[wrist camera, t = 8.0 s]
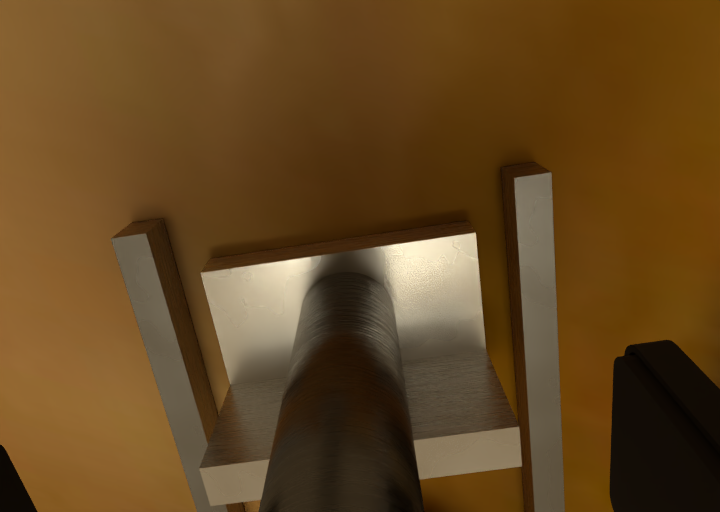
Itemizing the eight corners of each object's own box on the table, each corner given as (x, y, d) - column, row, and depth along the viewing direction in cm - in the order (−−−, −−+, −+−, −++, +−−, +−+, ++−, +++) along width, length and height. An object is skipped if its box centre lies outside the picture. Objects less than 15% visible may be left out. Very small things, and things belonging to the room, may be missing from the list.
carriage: (210, 258, 18) (-43, 624, 6) (467, 220, 17) (674, 538, 6) (245, 395, 19) (94, 874, 8) (480, 363, 19) (661, 817, 8)
